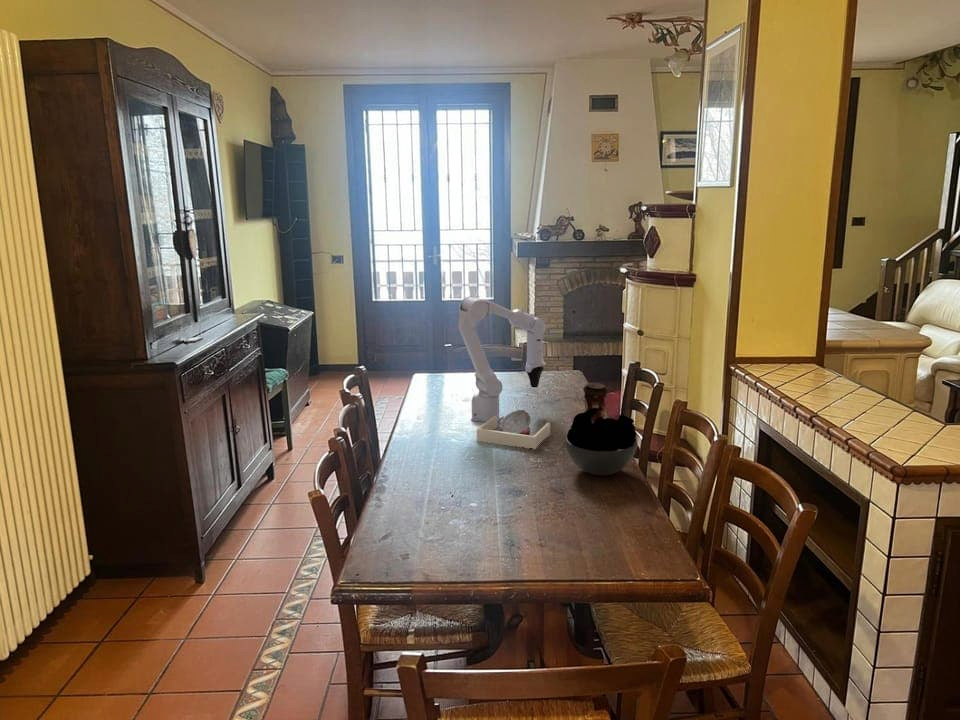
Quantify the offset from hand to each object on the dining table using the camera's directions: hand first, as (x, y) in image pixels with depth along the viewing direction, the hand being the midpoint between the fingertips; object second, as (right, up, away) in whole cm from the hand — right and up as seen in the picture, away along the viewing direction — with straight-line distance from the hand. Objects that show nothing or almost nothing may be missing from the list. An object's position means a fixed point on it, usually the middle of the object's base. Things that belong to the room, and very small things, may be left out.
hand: (534, 386), depth 245 cm
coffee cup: (+20, -12, -9) cm, 25 cm away
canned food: (-8, -16, -23) cm, 29 cm away
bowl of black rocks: (+14, -22, -53) cm, 59 cm away
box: (-9, -16, -24) cm, 30 cm away
